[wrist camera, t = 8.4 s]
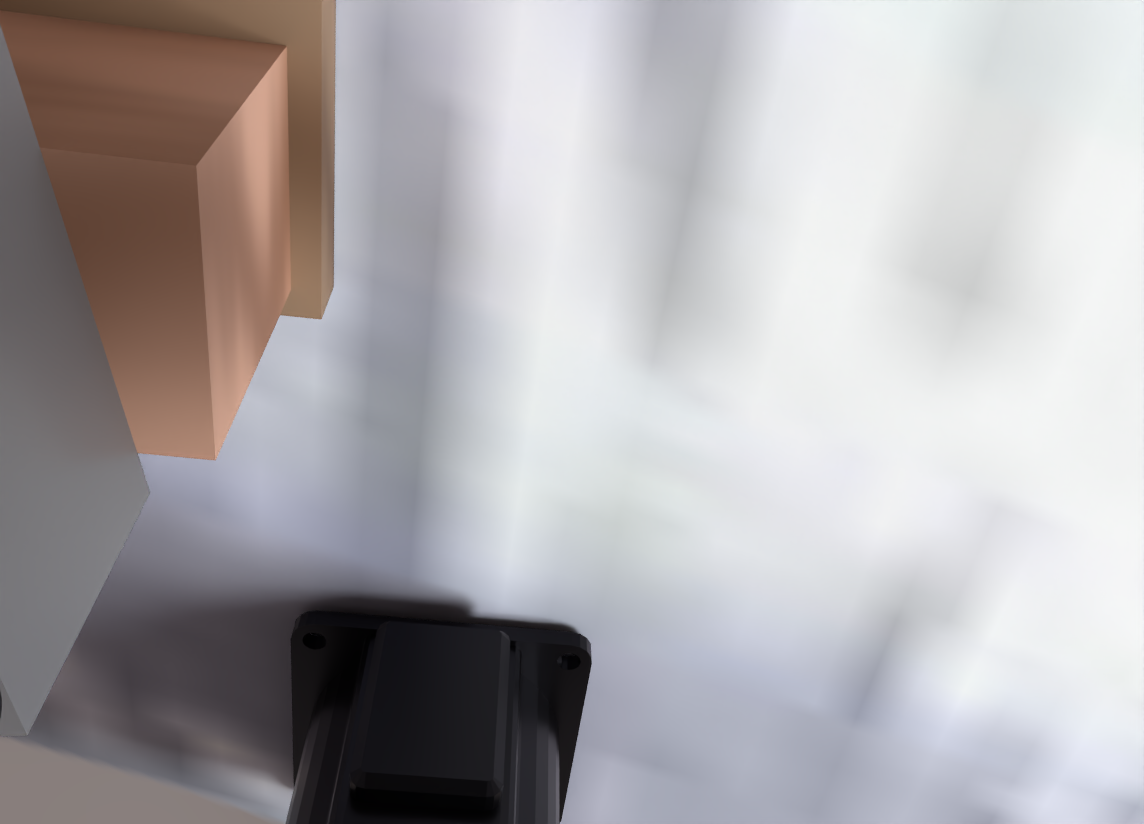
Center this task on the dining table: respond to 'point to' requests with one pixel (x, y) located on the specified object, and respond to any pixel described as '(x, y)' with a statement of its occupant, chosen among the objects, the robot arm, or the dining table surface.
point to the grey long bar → (50, 431)
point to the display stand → (186, 187)
